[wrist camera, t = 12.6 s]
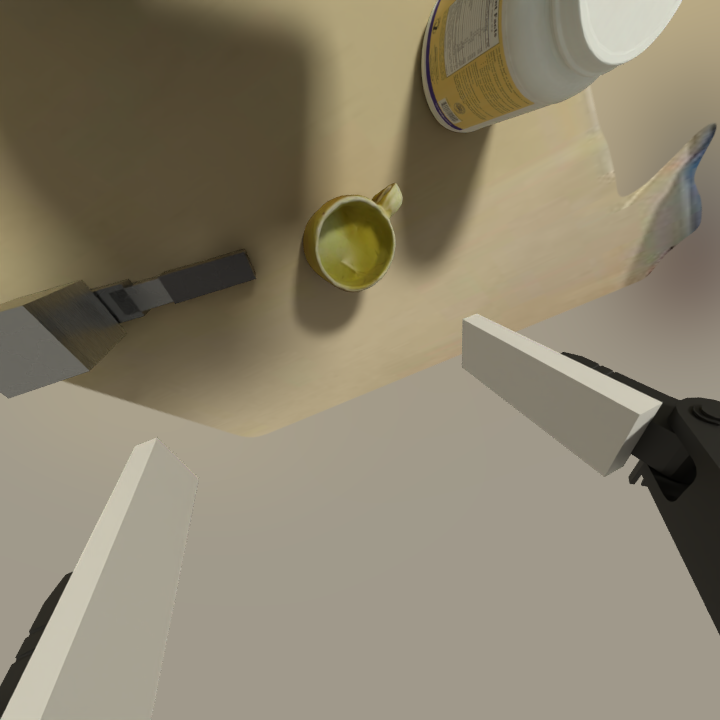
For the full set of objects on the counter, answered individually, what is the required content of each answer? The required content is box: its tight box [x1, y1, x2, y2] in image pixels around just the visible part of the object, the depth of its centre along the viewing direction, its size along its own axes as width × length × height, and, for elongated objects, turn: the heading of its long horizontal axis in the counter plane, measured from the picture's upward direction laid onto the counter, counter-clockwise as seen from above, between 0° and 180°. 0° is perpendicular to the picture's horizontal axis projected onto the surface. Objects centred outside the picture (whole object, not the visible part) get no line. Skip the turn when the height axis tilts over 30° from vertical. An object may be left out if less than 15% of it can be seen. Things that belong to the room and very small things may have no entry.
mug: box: [303, 183, 403, 292], centre depth 31 cm, size 12×10×10 cm
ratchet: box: [90, 249, 256, 323], centre depth 27 cm, size 21×5×6 cm, turn 103°
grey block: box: [0, 280, 127, 398], centre depth 23 cm, size 6×6×8 cm
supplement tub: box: [421, 0, 682, 133], centre depth 22 cm, size 12×12×17 cm
